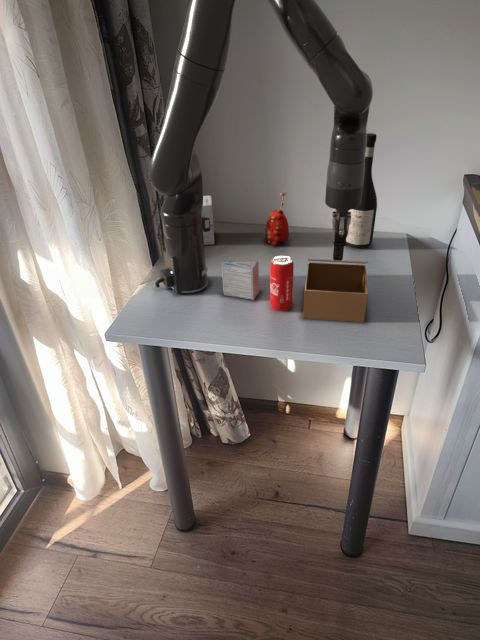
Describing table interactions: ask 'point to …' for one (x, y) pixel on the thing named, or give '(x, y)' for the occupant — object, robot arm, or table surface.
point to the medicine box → (240, 277)
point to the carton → (335, 292)
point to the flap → (337, 261)
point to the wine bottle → (364, 204)
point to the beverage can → (281, 282)
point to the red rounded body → (277, 226)
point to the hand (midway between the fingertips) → (337, 258)
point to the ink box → (207, 221)
